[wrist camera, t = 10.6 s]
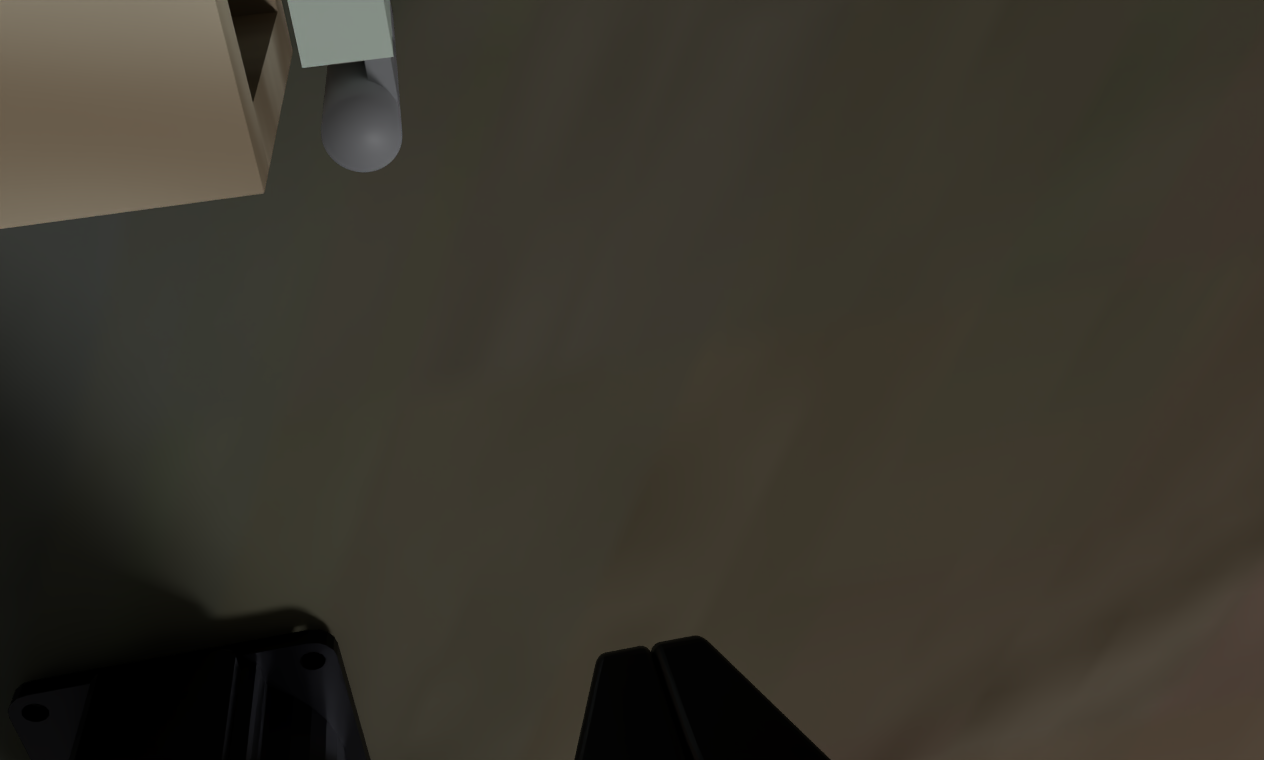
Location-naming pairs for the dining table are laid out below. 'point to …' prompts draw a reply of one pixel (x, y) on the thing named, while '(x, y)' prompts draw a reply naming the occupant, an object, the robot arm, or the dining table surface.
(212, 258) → the dining table surface
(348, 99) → the door
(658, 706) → the robot arm
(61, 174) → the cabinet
